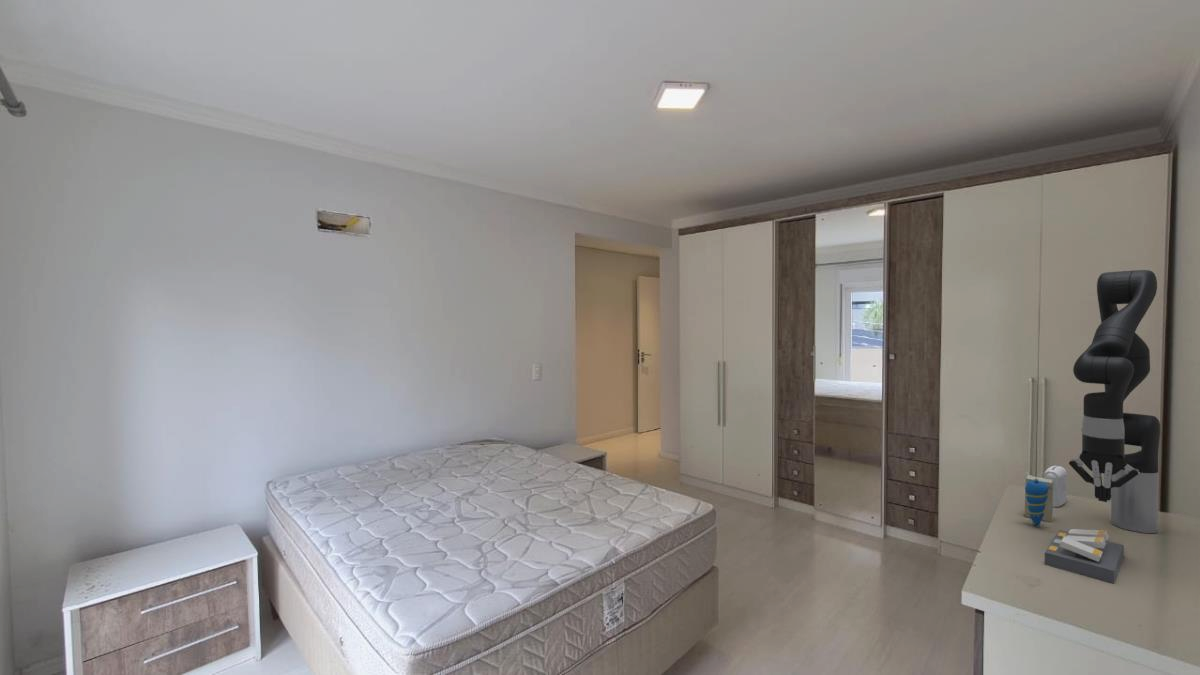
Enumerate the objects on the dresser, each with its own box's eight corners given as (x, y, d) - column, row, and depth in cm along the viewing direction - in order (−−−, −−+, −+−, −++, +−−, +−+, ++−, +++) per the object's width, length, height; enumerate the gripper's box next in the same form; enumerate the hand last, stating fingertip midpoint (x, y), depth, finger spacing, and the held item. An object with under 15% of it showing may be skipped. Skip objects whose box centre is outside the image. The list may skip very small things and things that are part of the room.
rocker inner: (1072, 534, 130) (1070, 528, 130) (1109, 536, 125) (1107, 530, 125) (1069, 538, 127) (1068, 532, 128) (1107, 540, 122) (1104, 534, 122)
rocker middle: (1068, 540, 126) (1066, 534, 127) (1106, 543, 121) (1103, 536, 121) (1065, 545, 124) (1063, 539, 124) (1103, 548, 118) (1101, 541, 119)
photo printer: (1051, 498, 164) (1051, 462, 164) (1068, 501, 161) (1068, 465, 161) (1041, 504, 159) (1041, 467, 158) (1059, 508, 155) (1059, 470, 155)
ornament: (1048, 526, 143) (1048, 476, 142) (1048, 532, 139) (1048, 480, 138) (1025, 521, 146) (1025, 472, 146) (1024, 527, 142) (1024, 477, 142)
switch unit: (1059, 540, 133) (1059, 527, 133) (1123, 556, 124) (1123, 542, 124) (1044, 564, 121) (1044, 549, 121) (1114, 583, 112) (1114, 567, 112)
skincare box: (1024, 516, 150) (1024, 478, 149) (1026, 512, 153) (1026, 474, 152) (1052, 522, 145) (1052, 482, 145) (1053, 518, 148) (1053, 479, 148)
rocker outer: (1062, 541, 123) (1064, 535, 122) (1101, 556, 117) (1103, 551, 117) (1059, 546, 120) (1061, 540, 120) (1098, 562, 115) (1100, 556, 115)
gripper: (1142, 435, 121) (1142, 504, 121) (1069, 427, 131) (1069, 490, 131) (1140, 441, 116) (1140, 512, 116) (1064, 432, 126) (1064, 497, 127)
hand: (1102, 500), depth 124 cm, fingers closed
